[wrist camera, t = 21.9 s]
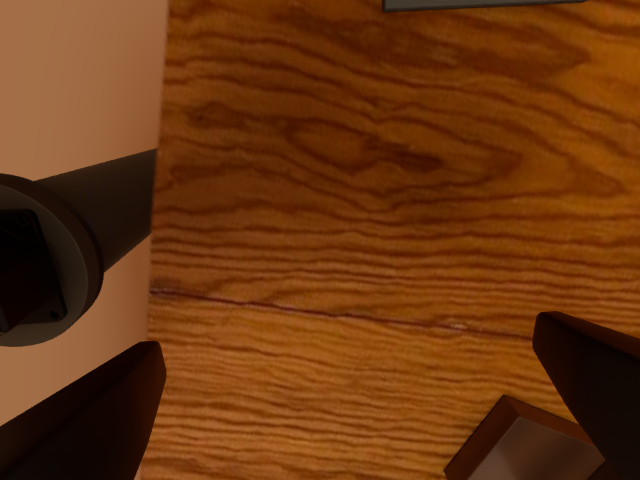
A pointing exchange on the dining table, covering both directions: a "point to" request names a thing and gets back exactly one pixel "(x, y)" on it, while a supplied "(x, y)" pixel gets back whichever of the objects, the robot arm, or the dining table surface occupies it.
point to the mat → (460, 4)
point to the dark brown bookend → (528, 448)
